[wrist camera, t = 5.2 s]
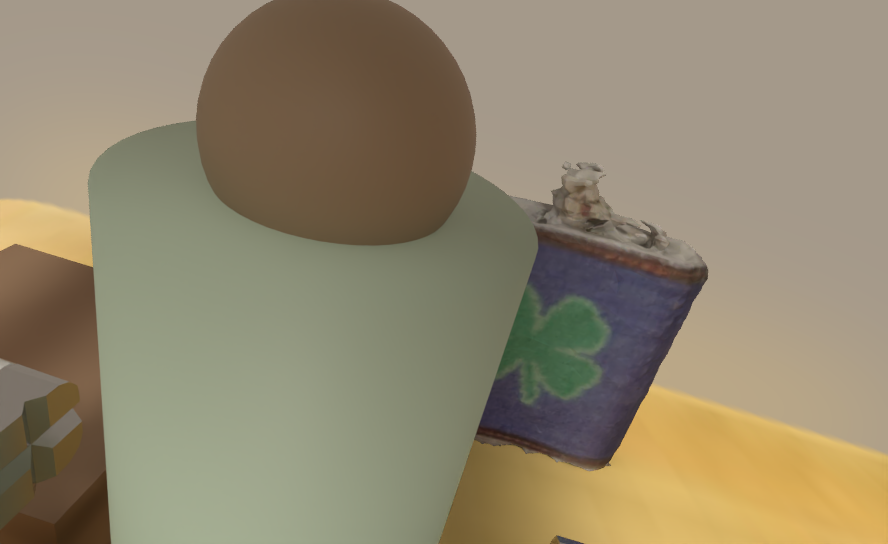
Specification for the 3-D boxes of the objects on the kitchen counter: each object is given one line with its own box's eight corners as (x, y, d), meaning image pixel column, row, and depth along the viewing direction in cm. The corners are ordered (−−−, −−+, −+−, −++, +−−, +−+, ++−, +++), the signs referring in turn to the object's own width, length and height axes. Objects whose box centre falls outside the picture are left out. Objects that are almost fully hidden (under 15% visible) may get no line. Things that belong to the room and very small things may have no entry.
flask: (377, 417, 22) (440, 142, 17) (393, 370, 25) (452, 119, 20) (617, 482, 22) (751, 224, 17) (607, 428, 25) (721, 191, 20)
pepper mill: (384, 677, 14) (593, 35, 7) (312, 949, 10) (624, 101, 3) (207, 617, 15) (248, -57, 8) (70, 860, 11) (-107, -97, 4)
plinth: (245, 381, 22) (250, 315, 21) (65, 606, 14) (54, 524, 13) (24, 312, 23) (15, 243, 21) (-268, 492, 15) (-313, 400, 13)
